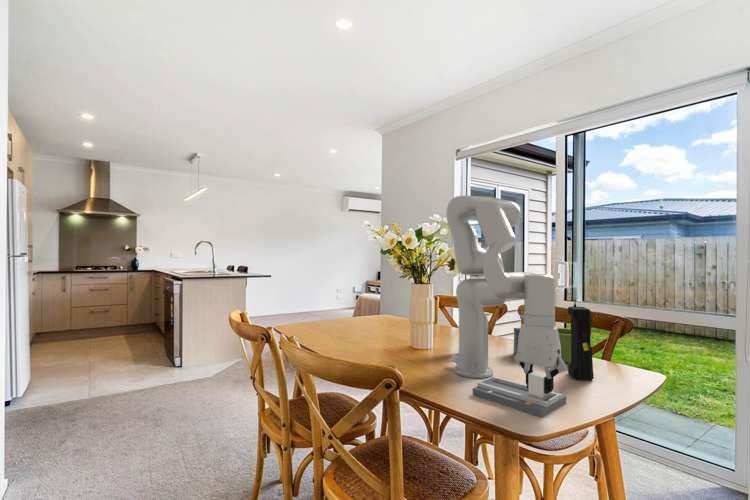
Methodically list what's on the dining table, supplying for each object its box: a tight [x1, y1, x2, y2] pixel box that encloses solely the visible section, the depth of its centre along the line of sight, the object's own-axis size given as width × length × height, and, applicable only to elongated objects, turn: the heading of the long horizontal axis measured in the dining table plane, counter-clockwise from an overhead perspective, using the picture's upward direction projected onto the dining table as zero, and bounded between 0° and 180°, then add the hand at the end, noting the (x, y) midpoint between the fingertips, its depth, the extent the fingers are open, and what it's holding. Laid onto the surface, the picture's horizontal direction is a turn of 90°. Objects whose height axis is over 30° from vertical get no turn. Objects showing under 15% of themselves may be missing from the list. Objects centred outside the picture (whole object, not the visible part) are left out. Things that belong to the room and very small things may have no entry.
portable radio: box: [567, 298, 595, 382], centre depth 127 cm, size 8×6×25 cm
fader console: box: [472, 375, 567, 419], centre depth 108 cm, size 20×14×3 cm
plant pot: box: [557, 327, 571, 364], centre depth 147 cm, size 12×12×11 cm
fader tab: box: [527, 370, 552, 400], centre depth 104 cm, size 4×6×6 cm
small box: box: [513, 327, 521, 356], centre depth 152 cm, size 11×6×10 cm, turn 179°
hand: (539, 389), depth 104 cm, fingers closed on fader tab, 4 cm apart
